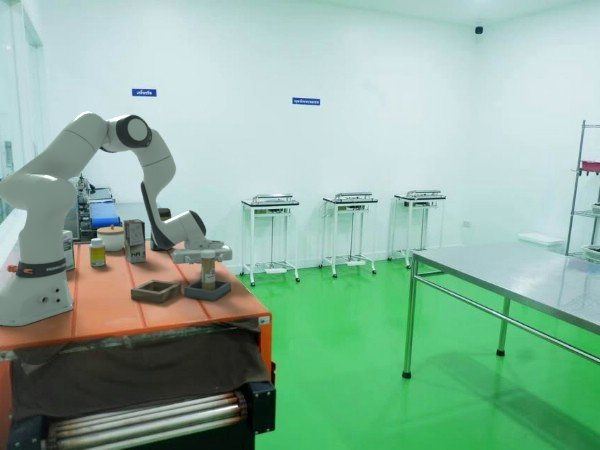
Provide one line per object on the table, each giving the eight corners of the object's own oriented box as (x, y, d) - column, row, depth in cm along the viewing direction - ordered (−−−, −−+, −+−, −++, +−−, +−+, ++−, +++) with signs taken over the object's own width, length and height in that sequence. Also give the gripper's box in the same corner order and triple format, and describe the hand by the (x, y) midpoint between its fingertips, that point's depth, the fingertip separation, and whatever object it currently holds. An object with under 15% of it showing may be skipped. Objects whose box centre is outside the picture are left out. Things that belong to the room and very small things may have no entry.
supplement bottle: (107, 265, 176) (106, 239, 174) (92, 267, 173) (91, 241, 171) (103, 262, 180) (102, 237, 178) (88, 264, 177) (87, 238, 175)
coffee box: (146, 261, 183) (145, 222, 180) (130, 263, 180) (128, 223, 176) (140, 256, 190) (139, 218, 187) (124, 258, 187) (122, 219, 184)
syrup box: (65, 272, 166) (62, 233, 163) (51, 270, 167) (48, 232, 164) (75, 267, 171) (73, 230, 169) (61, 266, 173) (59, 229, 170)
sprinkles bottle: (211, 293, 145) (211, 253, 143) (198, 292, 146) (198, 252, 144) (217, 289, 149) (217, 250, 147) (205, 288, 151) (204, 248, 148)
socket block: (160, 303, 138) (160, 294, 137) (131, 298, 141) (130, 289, 141) (181, 292, 148) (181, 283, 147) (153, 288, 151) (152, 279, 151)
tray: (214, 301, 141) (214, 292, 140) (184, 296, 144) (183, 287, 144) (231, 290, 151) (231, 282, 150) (202, 286, 154) (202, 278, 154)
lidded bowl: (94, 253, 194) (92, 227, 191) (102, 246, 206) (100, 222, 204) (125, 252, 196) (123, 227, 193) (131, 245, 208) (130, 222, 206)
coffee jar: (170, 245, 210) (169, 206, 206) (174, 249, 203) (173, 209, 200) (148, 247, 205) (147, 207, 202) (151, 251, 199) (150, 210, 195)
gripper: (169, 244, 158) (173, 253, 145) (227, 240, 165) (235, 249, 153) (170, 261, 159) (173, 272, 147) (227, 257, 166) (235, 267, 154)
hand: (206, 260), depth 150 cm, fingers open, 8 cm apart
